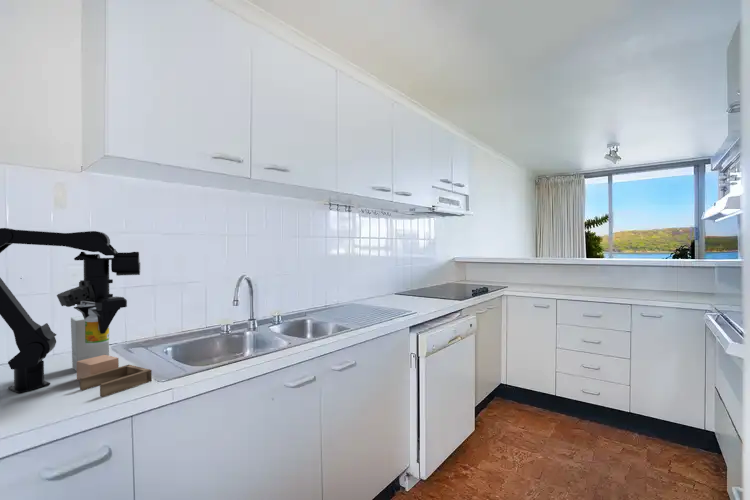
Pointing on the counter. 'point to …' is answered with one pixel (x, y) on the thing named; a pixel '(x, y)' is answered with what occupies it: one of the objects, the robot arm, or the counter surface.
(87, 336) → the supplement bottle
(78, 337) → the skincare box
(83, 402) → the counter surface
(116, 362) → the terracotta pedestal
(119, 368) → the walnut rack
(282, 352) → the counter surface
